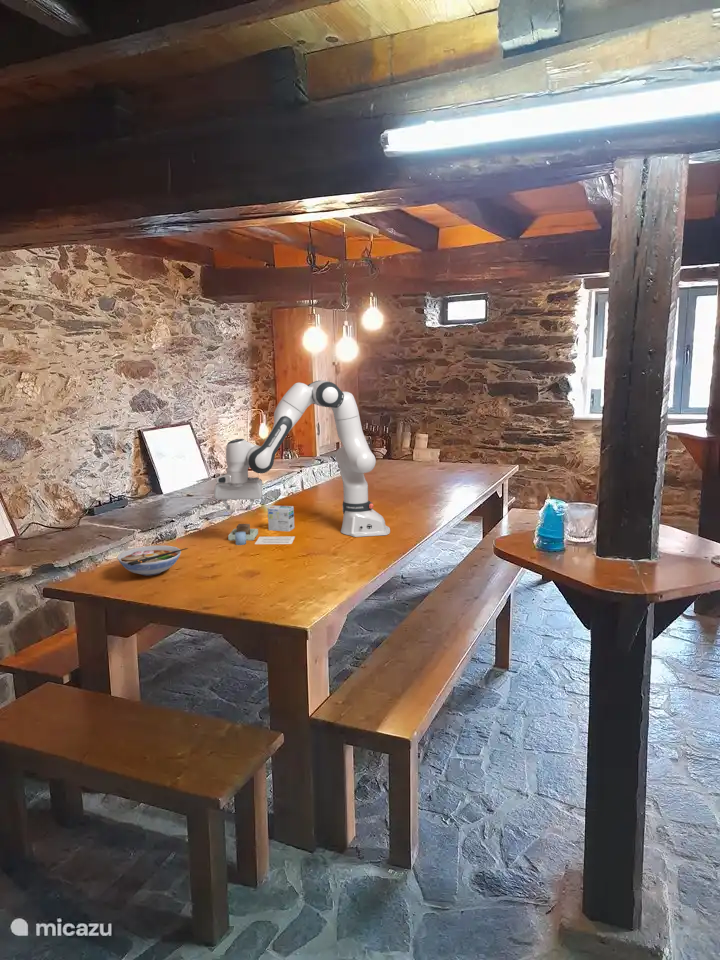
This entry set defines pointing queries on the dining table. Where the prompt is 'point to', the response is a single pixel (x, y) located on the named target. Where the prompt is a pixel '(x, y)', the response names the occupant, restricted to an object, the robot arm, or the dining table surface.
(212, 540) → the dining table surface
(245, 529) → the walnut block
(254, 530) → the tray
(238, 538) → the blue cylinder
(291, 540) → the letter
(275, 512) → the light bulb box
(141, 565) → the ramen bowl
